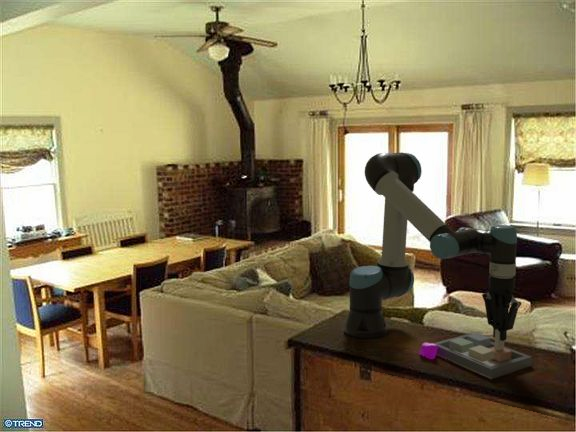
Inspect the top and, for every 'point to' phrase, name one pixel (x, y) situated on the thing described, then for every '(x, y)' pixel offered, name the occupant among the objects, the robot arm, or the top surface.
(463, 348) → the key sage
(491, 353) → the key cream
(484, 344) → the key slate
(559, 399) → the top surface
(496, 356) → the key terracotta
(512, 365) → the grey tray
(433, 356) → the crystal
